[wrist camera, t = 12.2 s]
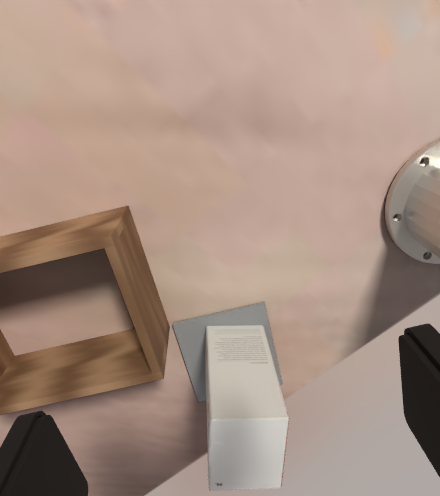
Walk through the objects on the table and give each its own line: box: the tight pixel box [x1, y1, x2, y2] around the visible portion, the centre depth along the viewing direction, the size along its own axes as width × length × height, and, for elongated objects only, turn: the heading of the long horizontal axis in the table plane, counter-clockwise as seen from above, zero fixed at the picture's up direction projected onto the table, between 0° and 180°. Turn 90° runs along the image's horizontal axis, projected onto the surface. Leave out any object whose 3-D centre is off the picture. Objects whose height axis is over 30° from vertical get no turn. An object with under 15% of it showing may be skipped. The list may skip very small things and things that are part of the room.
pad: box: [173, 302, 282, 402], centre depth 44 cm, size 10×11×1 cm
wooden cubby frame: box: [0, 206, 170, 415], centre depth 37 cm, size 18×14×8 cm
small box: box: [205, 325, 289, 490], centre depth 38 cm, size 8×6×13 cm
